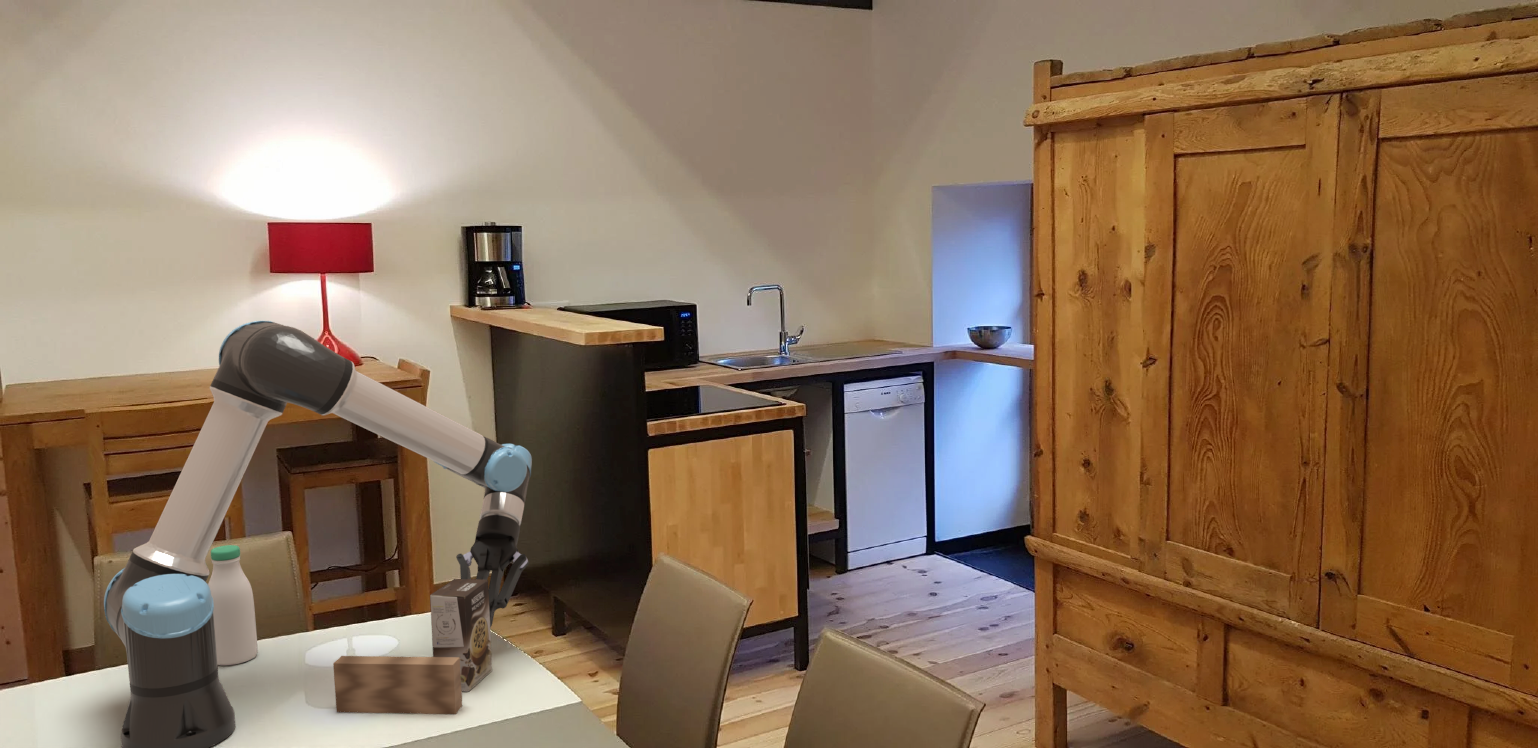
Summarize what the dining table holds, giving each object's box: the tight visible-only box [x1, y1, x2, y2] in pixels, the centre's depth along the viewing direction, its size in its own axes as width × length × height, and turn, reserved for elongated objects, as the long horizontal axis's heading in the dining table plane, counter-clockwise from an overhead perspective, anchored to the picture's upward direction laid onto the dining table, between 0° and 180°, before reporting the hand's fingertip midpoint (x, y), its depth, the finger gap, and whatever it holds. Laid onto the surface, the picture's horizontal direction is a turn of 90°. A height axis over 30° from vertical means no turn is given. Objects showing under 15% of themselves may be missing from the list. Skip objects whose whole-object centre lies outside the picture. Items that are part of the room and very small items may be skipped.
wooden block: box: [332, 655, 463, 715], centre depth 178 cm, size 19×3×8 cm, turn 86°
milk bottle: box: [207, 544, 259, 666], centre depth 199 cm, size 8×8×20 cm
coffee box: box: [429, 578, 493, 693], centre depth 188 cm, size 9×6×16 cm
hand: (476, 644), depth 194 cm, fingers closed
